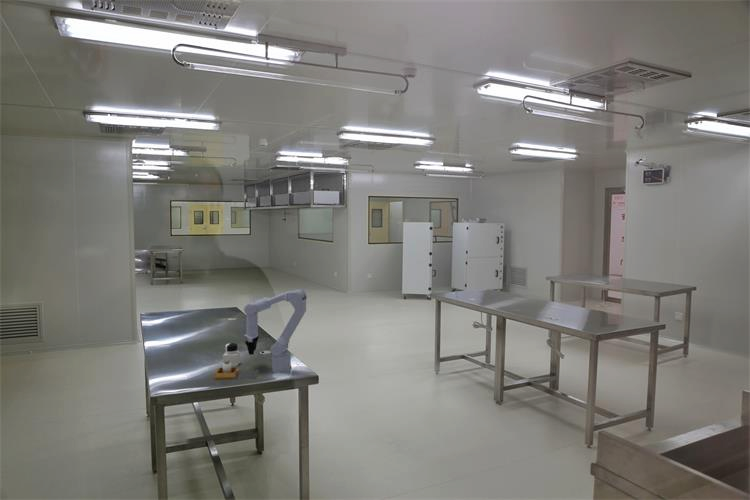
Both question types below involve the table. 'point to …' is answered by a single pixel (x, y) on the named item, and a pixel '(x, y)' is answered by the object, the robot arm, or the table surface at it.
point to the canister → (227, 367)
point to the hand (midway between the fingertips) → (252, 352)
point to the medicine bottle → (232, 354)
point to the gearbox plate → (235, 374)
